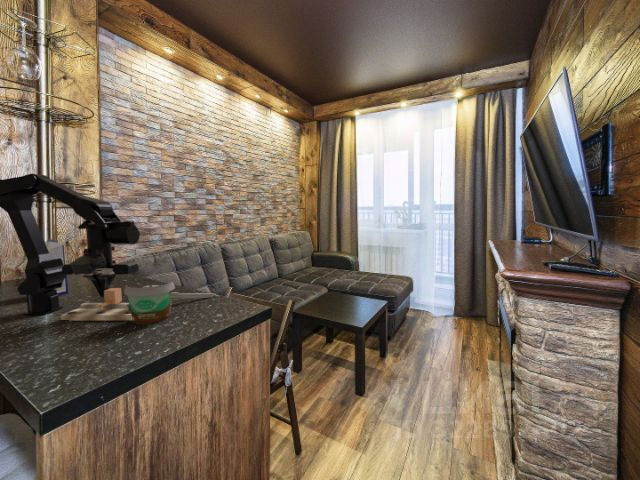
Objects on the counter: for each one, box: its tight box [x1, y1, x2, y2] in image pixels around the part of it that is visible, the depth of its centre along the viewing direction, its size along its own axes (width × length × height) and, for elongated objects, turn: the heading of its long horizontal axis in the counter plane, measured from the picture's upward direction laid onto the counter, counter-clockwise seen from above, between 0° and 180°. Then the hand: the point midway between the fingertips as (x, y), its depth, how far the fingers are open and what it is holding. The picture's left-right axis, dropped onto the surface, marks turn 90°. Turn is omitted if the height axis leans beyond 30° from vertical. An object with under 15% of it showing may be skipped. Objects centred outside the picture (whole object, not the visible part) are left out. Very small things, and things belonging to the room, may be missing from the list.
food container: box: [123, 280, 176, 325], centre depth 81 cm, size 12×6×10 cm, turn 117°
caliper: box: [171, 291, 219, 302], centre depth 99 cm, size 20×1×6 cm, turn 137°
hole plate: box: [60, 302, 132, 321], centre depth 87 cm, size 19×11×6 cm, turn 91°
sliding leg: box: [99, 287, 123, 311], centre depth 87 cm, size 3×7×5 cm, turn 1°
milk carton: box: [44, 238, 69, 297], centre depth 106 cm, size 7×7×20 cm
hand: (103, 296), depth 89 cm, fingers closed
